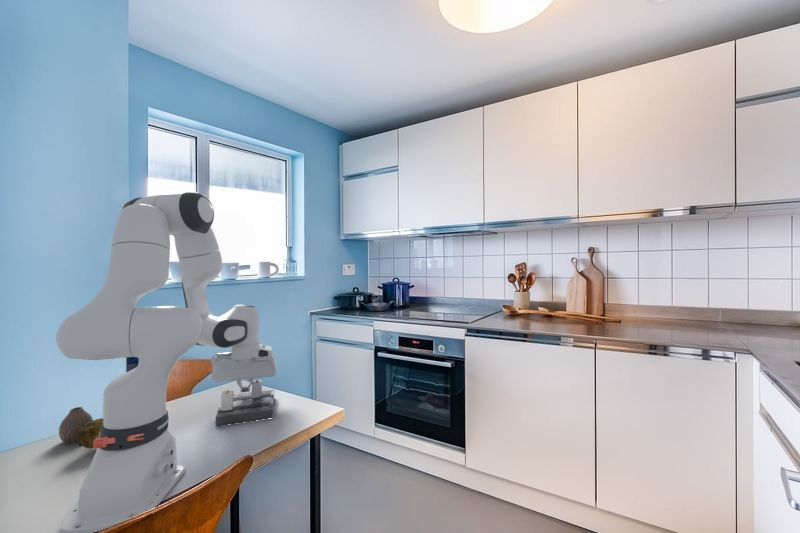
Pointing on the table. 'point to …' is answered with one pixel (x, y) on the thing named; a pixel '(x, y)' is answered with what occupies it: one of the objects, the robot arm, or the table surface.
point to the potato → (89, 433)
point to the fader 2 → (257, 389)
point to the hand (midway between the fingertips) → (245, 391)
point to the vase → (73, 424)
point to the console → (247, 409)
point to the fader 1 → (227, 400)
